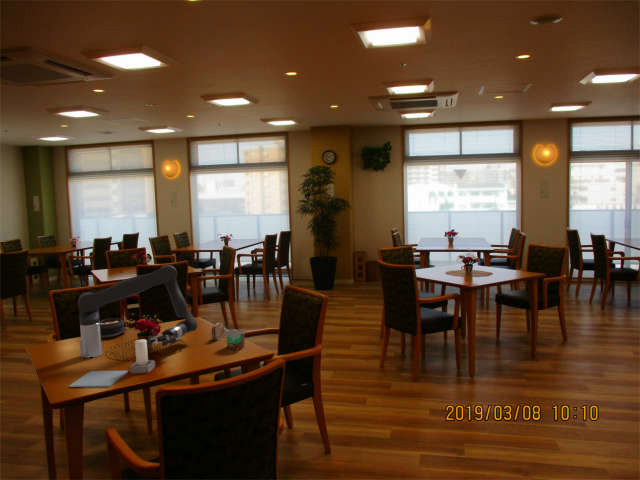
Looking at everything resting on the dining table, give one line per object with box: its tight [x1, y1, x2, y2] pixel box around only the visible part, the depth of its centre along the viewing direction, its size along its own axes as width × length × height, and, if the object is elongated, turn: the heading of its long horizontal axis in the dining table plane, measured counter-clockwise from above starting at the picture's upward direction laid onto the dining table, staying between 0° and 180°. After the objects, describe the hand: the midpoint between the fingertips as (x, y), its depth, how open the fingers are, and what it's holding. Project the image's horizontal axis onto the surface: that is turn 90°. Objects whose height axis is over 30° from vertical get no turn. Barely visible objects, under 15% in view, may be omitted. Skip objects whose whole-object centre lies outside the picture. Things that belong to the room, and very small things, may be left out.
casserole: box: [99, 317, 128, 339], centre depth 300 cm, size 25×19×8 cm
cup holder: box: [129, 359, 156, 374], centre depth 235 cm, size 9×9×3 cm
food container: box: [224, 327, 246, 350], centre depth 262 cm, size 12×6×10 cm, turn 68°
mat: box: [68, 370, 129, 388], centre depth 224 cm, size 18×18×1 cm
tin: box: [211, 321, 227, 341], centre depth 284 cm, size 15×3×8 cm, turn 168°
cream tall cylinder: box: [134, 339, 149, 366], centre depth 234 cm, size 5×5×14 cm
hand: (155, 343), depth 245 cm, fingers open, 8 cm apart
